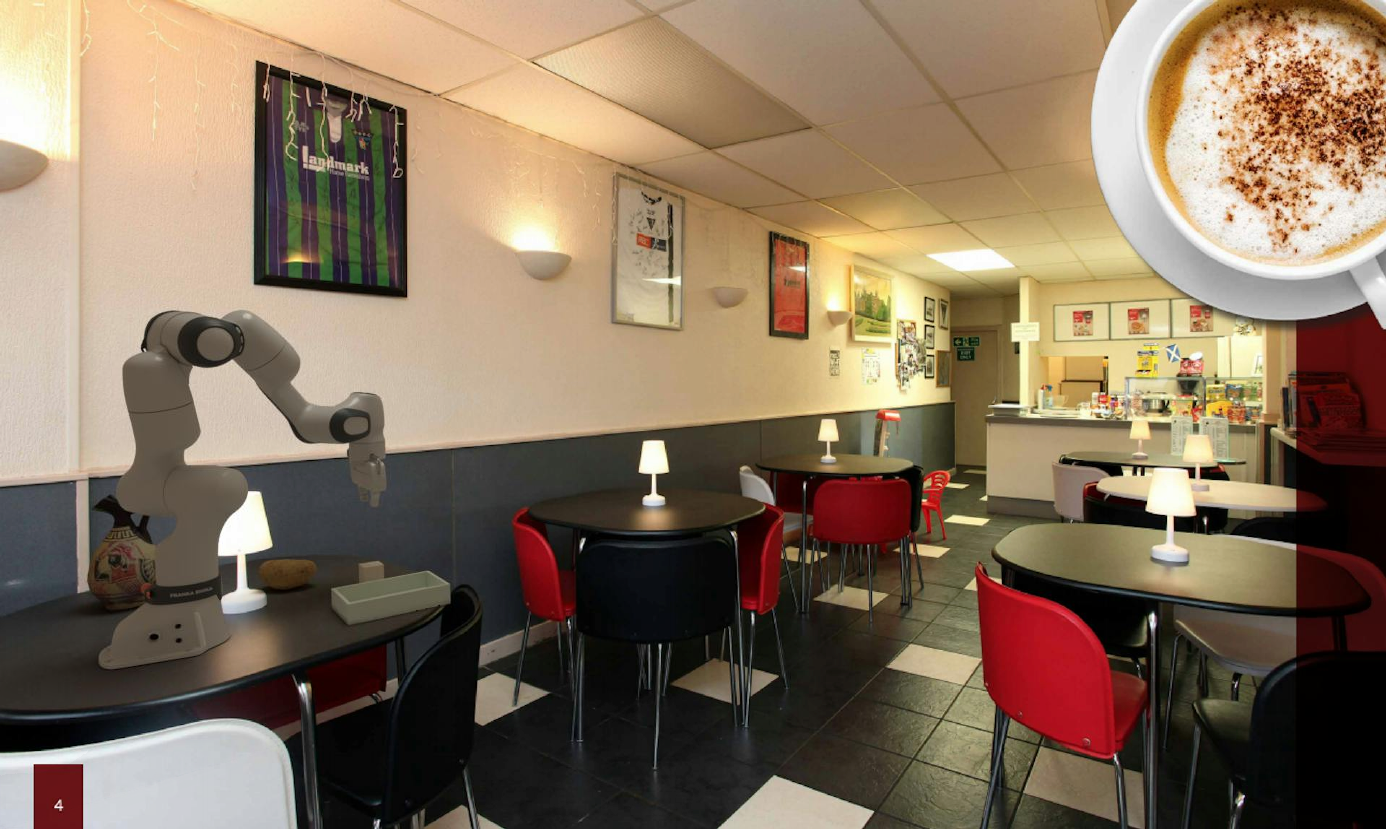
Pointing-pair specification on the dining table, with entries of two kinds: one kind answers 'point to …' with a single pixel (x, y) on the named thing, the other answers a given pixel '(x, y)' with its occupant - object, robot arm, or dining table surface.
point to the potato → (286, 573)
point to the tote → (389, 597)
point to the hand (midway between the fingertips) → (369, 503)
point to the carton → (371, 571)
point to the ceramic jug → (122, 559)
